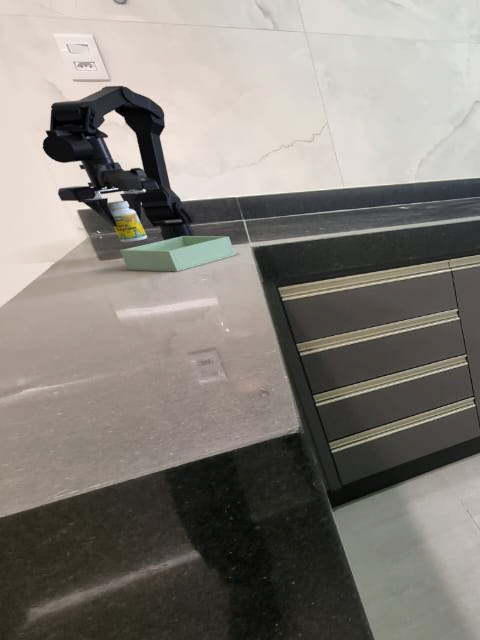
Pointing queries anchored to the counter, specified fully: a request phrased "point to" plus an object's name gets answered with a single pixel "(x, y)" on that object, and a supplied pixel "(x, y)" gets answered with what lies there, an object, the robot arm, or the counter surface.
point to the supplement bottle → (126, 222)
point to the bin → (177, 253)
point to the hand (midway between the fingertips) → (126, 224)
